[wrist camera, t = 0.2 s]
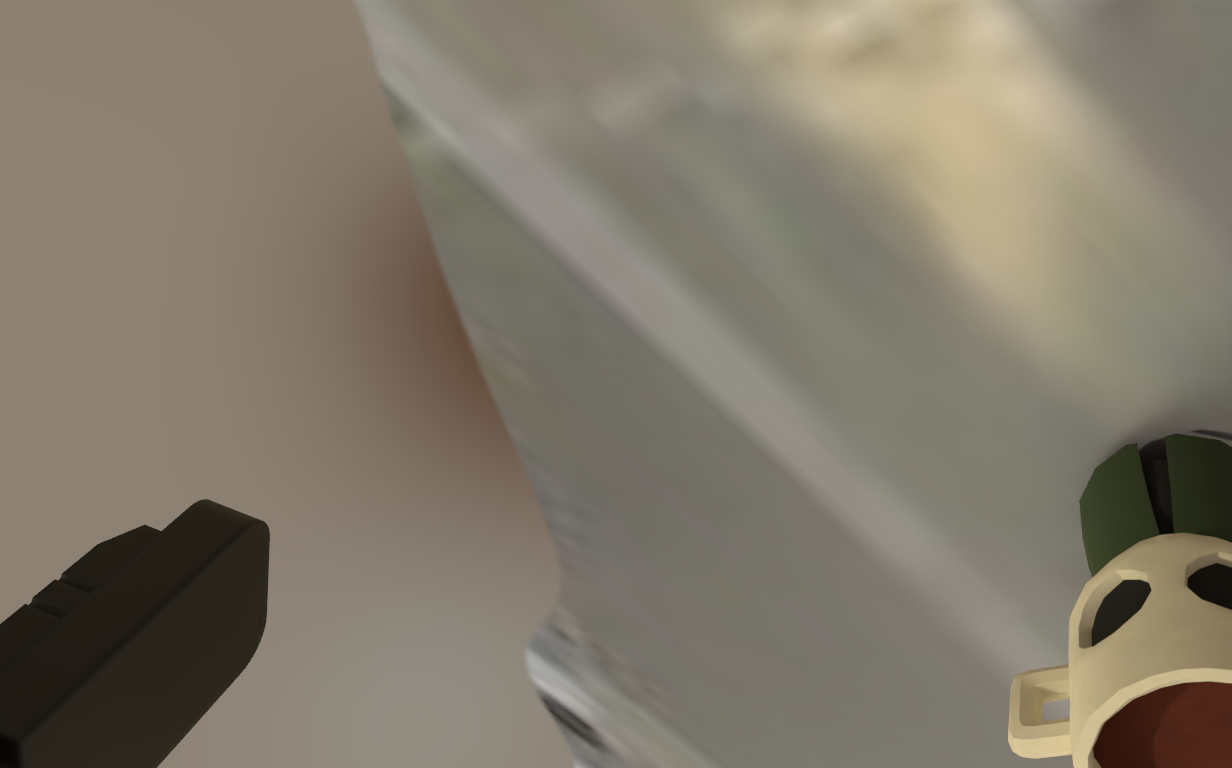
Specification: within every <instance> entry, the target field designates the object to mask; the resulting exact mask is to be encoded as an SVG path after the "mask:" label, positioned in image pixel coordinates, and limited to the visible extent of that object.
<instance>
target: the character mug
mask: <svg viewBox="0 0 1232 768" xmlns="http://www.w3.org/2000/svg"><path fill="white" fill-rule="evenodd" d="M1165 443H1166V452H1167V460H1154V461H1152V462H1150V463H1148V464H1146V465H1144V466H1142V465H1141V460H1140V455H1139V451H1138V446H1137V443H1136V444H1130V445H1126V446H1124V447H1123V448H1122V449H1120V450H1119V451H1118V452H1117V453H1115V454H1114V455H1113V456H1111V457H1110V458H1109V459H1107V460H1106V461H1105V462H1103V463H1102V464H1101V465H1099V466H1098V467H1097V468H1096V469H1095V471H1094V473H1093V475H1092V477H1091V479H1090V481H1089V483H1088V485H1087V487H1086V489H1085V491H1084V493H1083V495H1082V497H1081V499H1080V512H1081V523H1082V535H1083V542H1084V546H1085V551H1086V556H1087V560H1088V565H1089V568H1090V572H1091V575H1092V579H1090V580H1089V581H1088V582H1087V583H1086V584H1085V586H1084V588H1083V590H1082V592H1081V594H1080V597H1079V599H1078V601H1077V603H1076V605H1075V607H1074V609H1073V611H1072V614H1071V616H1070V622H1069V665H1063V666H1056V667H1049V668H1043V669H1036V670H1030V671H1027V672H1024V673H1021V674H1019V675H1016V677H1015V679H1014V681H1013V683H1012V685H1011V693H1010V712H1009V732H1008V742H1009V744H1010V746H1011V748H1012V751H1013V752H1015V753H1016V754H1018V755H1019V756H1021V757H1026V758H1034V759H1037V758H1046V757H1054V756H1063V755H1072V757H1073V764H1074V768H1232V447H1230V446H1228V445H1227V444H1225V443H1223V442H1221V441H1220V440H1214V439H1207V438H1200V437H1194V436H1187V435H1181V434H1173V435H1170V436H1166V437H1165ZM1064 699H1070V718H1066V719H1058V720H1050V721H1043V722H1042V704H1043V703H1046V702H1049V701H1057V700H1064Z"/></svg>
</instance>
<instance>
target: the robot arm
mask: <svg viewBox="0 0 1232 768" xmlns="http://www.w3.org/2000/svg"><path fill="white" fill-rule="evenodd" d="M269 542H270V533H269V528H268V526H267V524H266V523H265V522H264V521H261V520H259V519H256V518H254V517H251V516H249V515H246V514H243V513H241V512H238V511H236V510H233V509H231V508H228V507H225V506H223V505H220V504H218V503H215V502H213V501H210V500H207V499H204V500H200V501H198V502H196V503H194V504H193V505H192V506H190V507H189V508H188V509H187V510H186V511H185V512H183V513H182V514H181V515H180V516H179V517H177V518H176V519H175V520H174V521H173V522H172V523H170V524H169V525H168V526H167V527H166V528H165V529H164V530H162V531H159V530H157V529H154V528H152V527H149V526H147V525H143V526H140V527H138V528H136V529H133V530H131V531H129V532H126V533H124V534H121V535H119V536H116V537H114V538H112V539H109V540H107V541H104V542H102V543H100V544H98V545H96V546H95V547H94V548H93V549H91V550H90V551H89V552H88V553H87V554H85V555H84V556H83V557H82V558H80V559H79V560H78V561H77V562H76V563H74V564H73V565H72V566H71V567H70V568H68V569H67V570H66V571H65V572H63V573H62V576H61V578H60V579H59V580H58V581H57V580H54V581H52V582H51V583H50V584H49V585H48V586H46V587H45V588H44V589H43V590H41V592H39V593H38V594H37V595H35V596H34V597H33V600H32V602H31V603H30V604H29V605H27V604H25V605H23V606H22V607H21V608H19V609H18V610H17V611H16V612H15V613H13V614H12V615H11V616H10V617H9V618H7V619H6V620H5V621H4V622H3V623H1V624H0V768H157V767H158V766H159V764H160V763H161V762H162V761H163V760H164V759H165V758H166V757H167V756H168V755H169V753H170V752H171V751H172V750H173V749H174V748H175V747H176V746H177V744H178V743H179V742H180V741H181V740H182V739H183V738H184V737H185V735H186V734H187V733H188V732H189V731H190V730H191V729H192V728H193V726H194V725H195V724H196V723H197V722H198V721H199V720H200V718H201V717H202V716H203V715H204V714H205V713H206V712H207V711H208V710H209V709H210V707H211V706H212V705H213V704H214V703H215V702H216V700H218V698H219V697H220V696H221V695H222V694H223V693H224V692H225V691H226V689H227V688H228V687H229V686H230V685H231V684H232V683H233V682H234V680H235V679H236V678H237V677H238V676H239V675H240V674H241V673H242V671H243V670H244V669H245V668H246V666H247V665H248V663H249V662H250V660H251V659H252V657H253V655H254V653H255V652H256V650H257V647H258V645H259V643H260V641H261V638H262V635H263V632H264V629H265V624H266V617H267V595H268V566H269Z"/></svg>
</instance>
